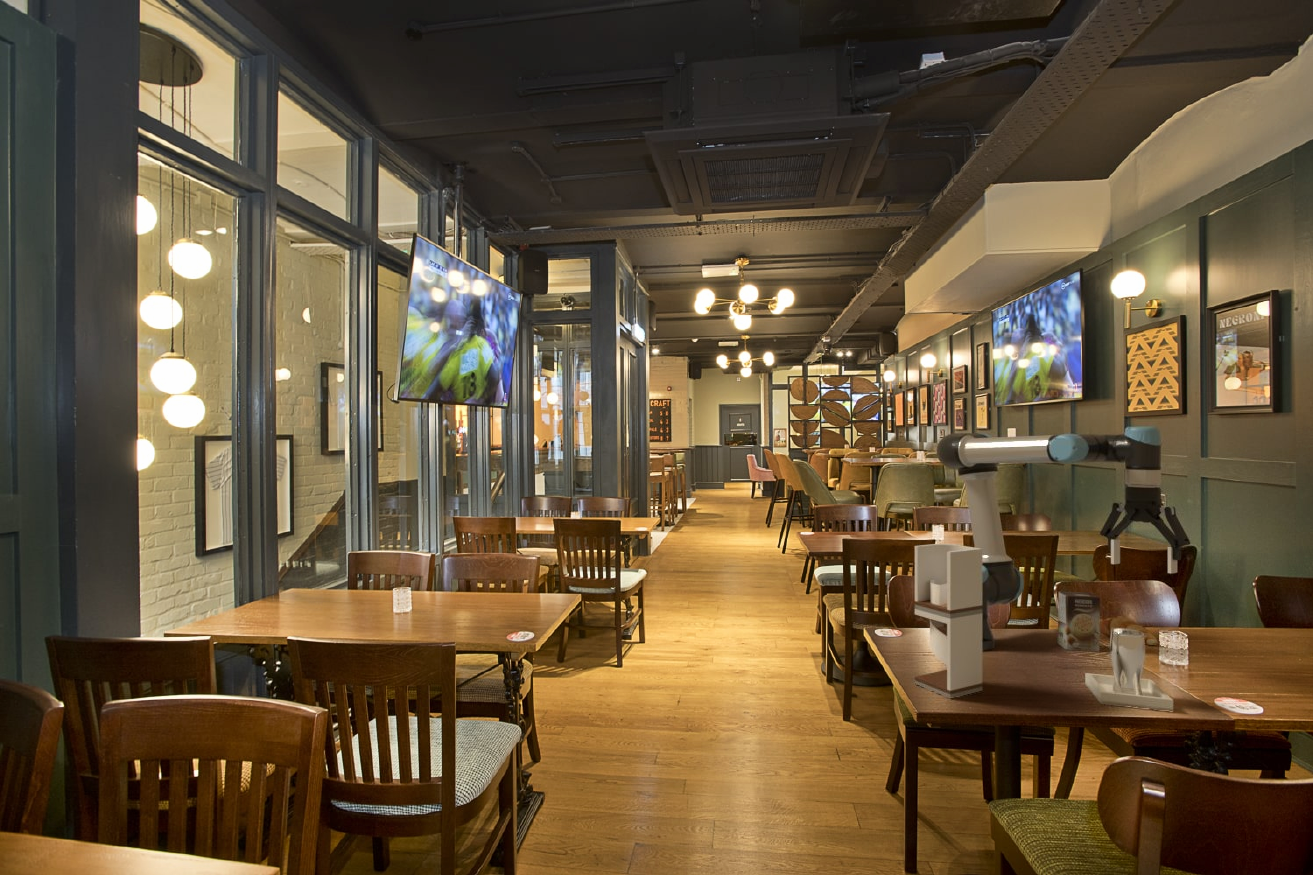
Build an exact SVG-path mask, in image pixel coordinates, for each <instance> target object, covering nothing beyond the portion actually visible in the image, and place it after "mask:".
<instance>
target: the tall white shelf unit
mask: <svg viewBox="0 0 1313 875" xmlns="http://www.w3.org/2000/svg"><path fill="white" fill-rule="evenodd" d="M914 615H916V616H919V617H923V618H925V619H926V618H927V619H928V620H929V648H930V651H931V652H932V655H934V656H935V658H936V659H938V660H939V661H940V662H941V663H942V664H944V665H946V669H943V670H938V671H934V672H930V673H926V674H922V675H917V676H914V684H915V683H916V684H918V685H920V686H922V687H924V688H926V689H931V690H933V691H935V692H937V693H940V694H941V695H944V696H948V697H949V698H951V697H956V696H962V697H964V696H963V695H966V696H968V695H967V694H970V695H972V694H971V693H974V692H978V691H982V692H983V651H982V549H980V548H975V546H974V547H972V546H968V545H967V546H966V545H959V544H953V543H947V542H944V543H943V542H942V543H932V544H922V545H914ZM924 688H923V689H924ZM926 689H925V690H926ZM978 693H979V692H978ZM974 694H975V693H974ZM941 695H940V696H941Z"/></svg>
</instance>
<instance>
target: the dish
mask: <svg viewBox="0 0 1313 875" xmlns="http://www.w3.org/2000/svg"><path fill="white" fill-rule="evenodd" d="M1084 675H1085V677H1084V678H1085V679H1084V680H1085V682H1084V683H1085V685H1086V687H1087V688H1088V689H1089V691H1090V692H1091V693H1092V694H1093V695H1094V697H1095V699H1097V701H1098V702H1099V704H1100V705H1103V706H1104V704H1105V706H1111V705H1114V706H1113V707H1120V706H1131V707H1138V708H1149V709H1156V710H1169V711H1173V712H1174V699H1173V698H1171V697H1170V696H1169V695H1168V693H1166V692H1165V691H1164V690H1163V689H1162V688H1161V687H1160V686H1158V684H1156V682H1154V681H1153V680H1152V679H1147V678H1141V688H1142V693H1143V695H1133V694H1124V693H1115V692H1112V687H1113V683H1114V675H1110V674H1109V675H1108V674H1101V673H1100V674H1099V673H1089V672H1085V674H1084Z"/></svg>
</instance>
